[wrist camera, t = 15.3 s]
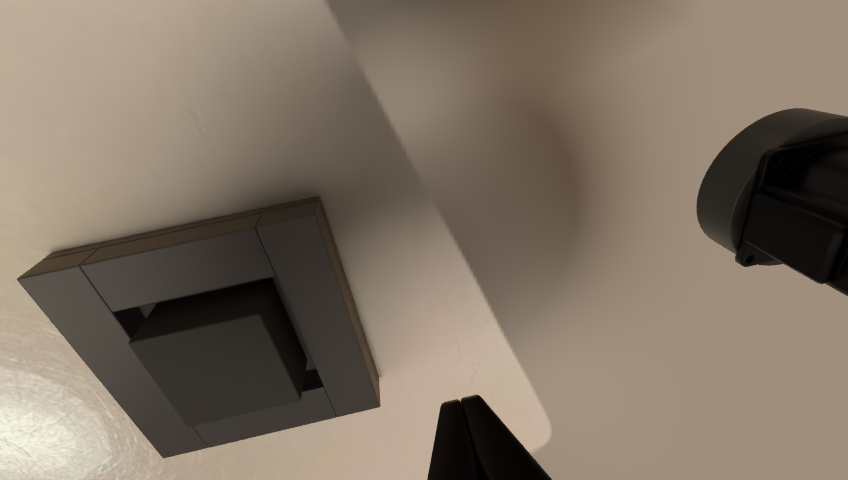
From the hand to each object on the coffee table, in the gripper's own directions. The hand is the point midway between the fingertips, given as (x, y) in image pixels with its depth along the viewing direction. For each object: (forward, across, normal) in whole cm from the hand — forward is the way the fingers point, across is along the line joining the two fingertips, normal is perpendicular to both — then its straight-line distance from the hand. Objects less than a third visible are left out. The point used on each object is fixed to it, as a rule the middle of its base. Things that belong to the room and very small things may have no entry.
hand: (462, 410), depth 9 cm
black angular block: (+11, +10, +5) cm, 16 cm away
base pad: (+12, +10, +5) cm, 16 cm away
